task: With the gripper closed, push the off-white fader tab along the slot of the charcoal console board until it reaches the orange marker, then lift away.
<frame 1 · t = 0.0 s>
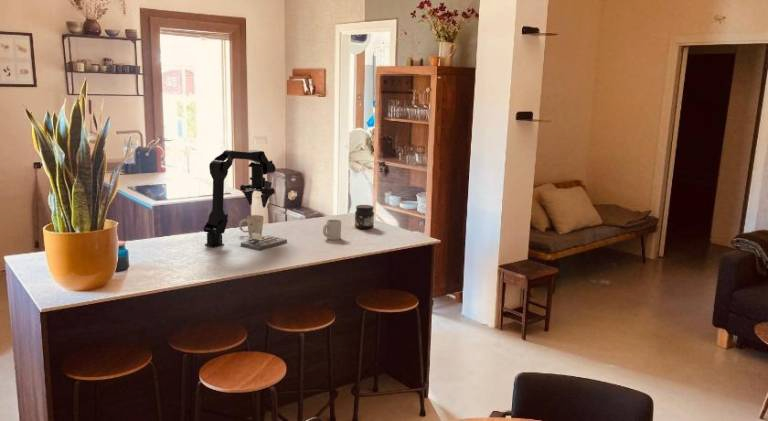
hand: (257, 206, 305), 15 cm above the table, fingers open, 9 cm apart
cup: (331, 239, 307), on the table
supplement container: (364, 228, 333), on the table
mug: (251, 236, 305), on the table
fader tab: (256, 238, 286), point 4 cm above the table, slide at -5.0 cm
console board: (264, 244, 291), on the table
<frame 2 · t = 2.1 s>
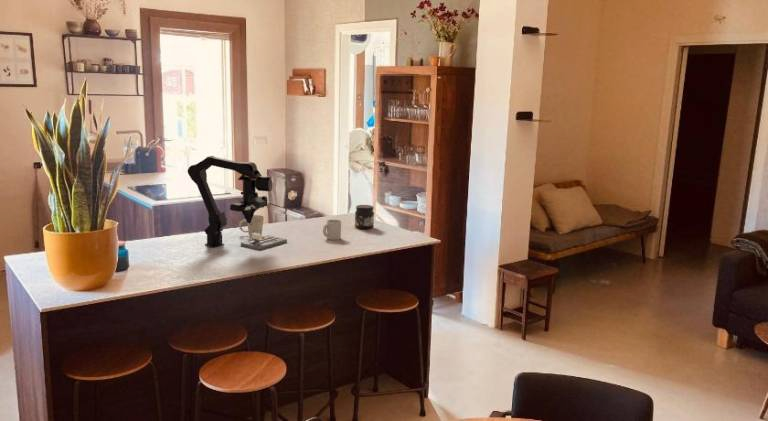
hand: (249, 223, 280), 12 cm above the table, fingers closed
nothing on the table moved.
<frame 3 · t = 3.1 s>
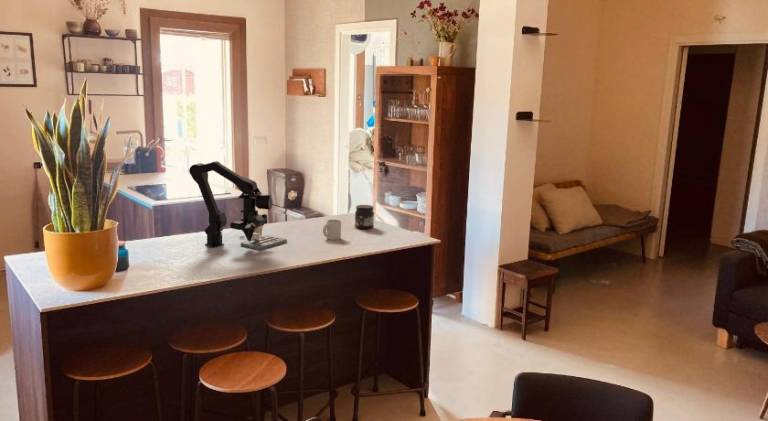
hand: (249, 240, 282), 4 cm above the table, fingers closed
nothing on the table moved.
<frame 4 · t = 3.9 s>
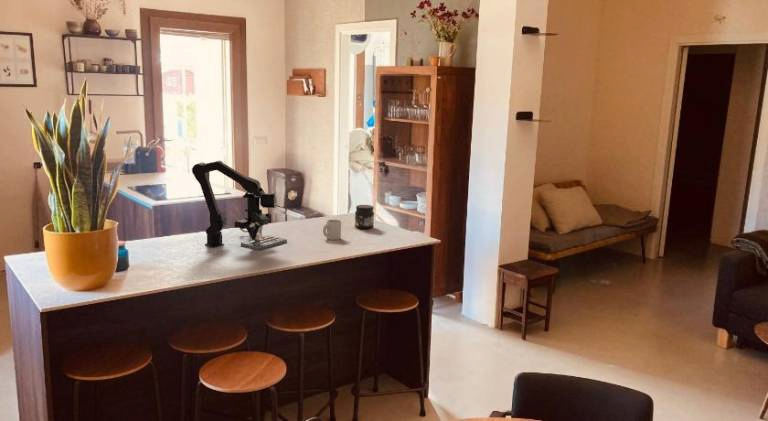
hand: (253, 239, 284), 4 cm above the table, fingers closed
fader tab: (257, 238, 286), point 4 cm above the table, slide at -4.8 cm, touching gripper
everything else where it was.
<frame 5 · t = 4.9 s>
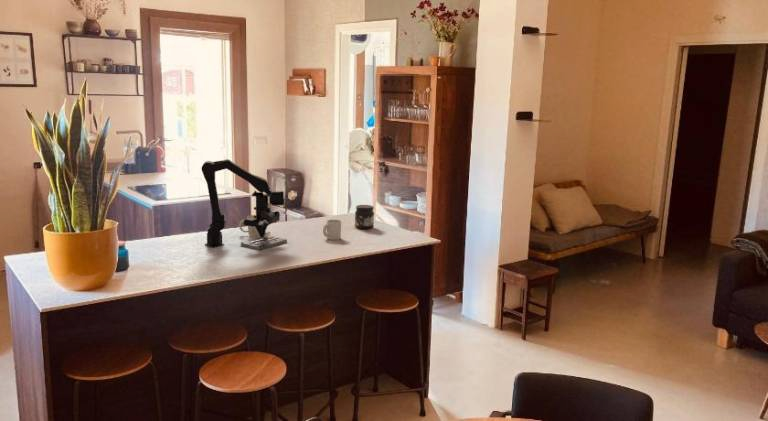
hand: (261, 237, 289), 4 cm above the table, fingers closed
fader tab: (265, 235, 291), point 4 cm above the table, slide at 0.9 cm, touching gripper
everything else where it was.
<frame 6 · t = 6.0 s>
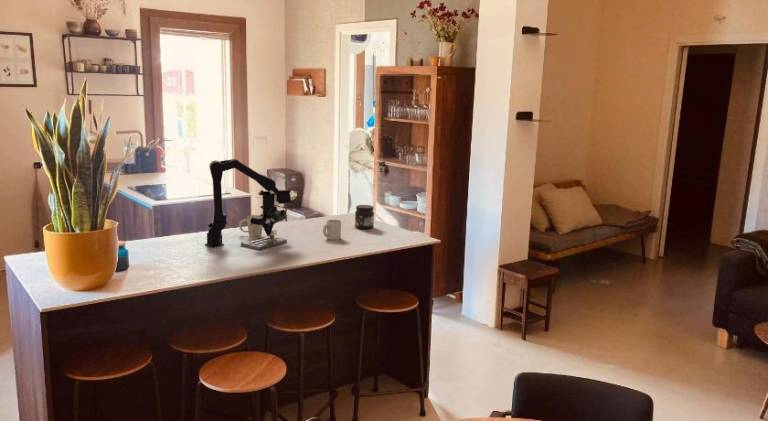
hand: (268, 235, 292), 4 cm above the table, fingers closed
fader tab: (271, 234, 294), point 4 cm above the table, slide at 5.4 cm, touching gripper
everything else where it was.
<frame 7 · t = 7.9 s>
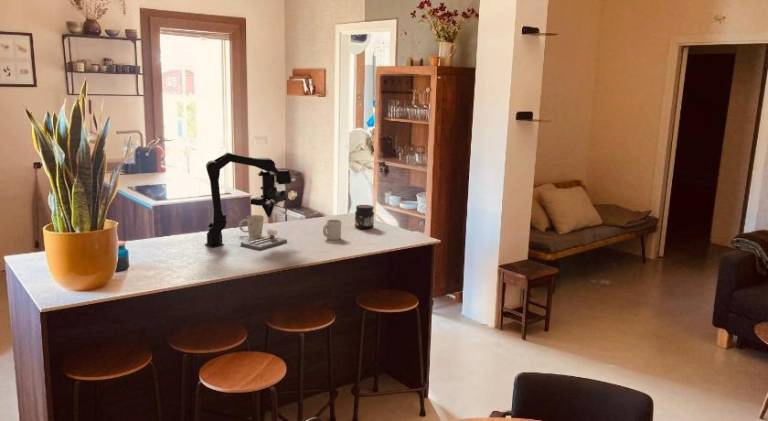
hand: (268, 216, 291), 13 cm above the table, fingers closed
fader tab: (272, 234, 295), point 4 cm above the table, slide at 5.5 cm
everything else where it was.
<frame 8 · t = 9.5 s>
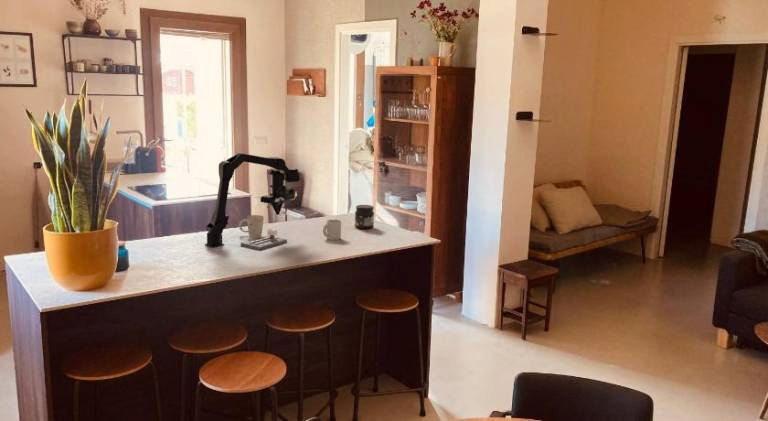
hand: (277, 214, 298), 12 cm above the table, fingers closed
nothing on the table moved.
at the end: fader tab slide at 5.5 cm; fader tab touching nothing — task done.
